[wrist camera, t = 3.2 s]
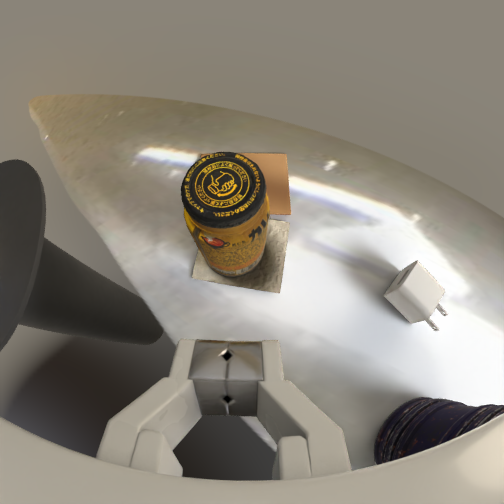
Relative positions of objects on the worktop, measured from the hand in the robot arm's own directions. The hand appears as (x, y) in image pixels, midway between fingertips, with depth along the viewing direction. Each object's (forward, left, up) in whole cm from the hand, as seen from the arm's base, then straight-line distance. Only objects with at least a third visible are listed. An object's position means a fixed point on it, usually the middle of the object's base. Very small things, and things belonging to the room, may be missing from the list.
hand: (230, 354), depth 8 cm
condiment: (+8, +6, -17) cm, 20 cm away
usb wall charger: (+14, -12, -17) cm, 25 cm away
